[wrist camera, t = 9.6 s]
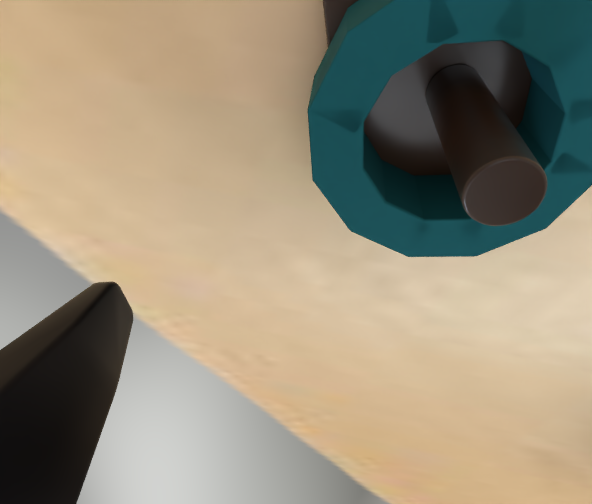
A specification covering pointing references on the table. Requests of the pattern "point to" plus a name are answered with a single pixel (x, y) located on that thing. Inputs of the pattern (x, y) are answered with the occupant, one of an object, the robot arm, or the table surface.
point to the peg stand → (459, 124)
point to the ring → (441, 188)
